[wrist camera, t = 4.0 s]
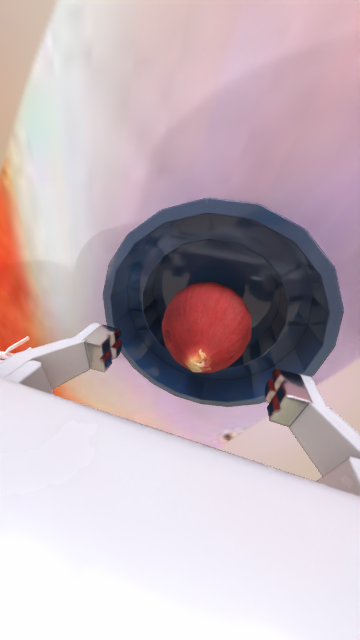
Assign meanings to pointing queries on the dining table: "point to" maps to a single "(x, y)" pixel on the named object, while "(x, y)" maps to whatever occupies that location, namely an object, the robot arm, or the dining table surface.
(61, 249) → the dining table surface
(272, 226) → the bowl
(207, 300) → the onion
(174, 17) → the dining table surface
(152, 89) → the dining table surface
